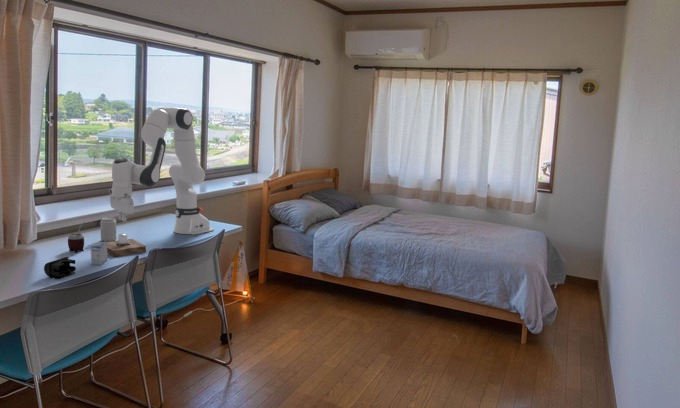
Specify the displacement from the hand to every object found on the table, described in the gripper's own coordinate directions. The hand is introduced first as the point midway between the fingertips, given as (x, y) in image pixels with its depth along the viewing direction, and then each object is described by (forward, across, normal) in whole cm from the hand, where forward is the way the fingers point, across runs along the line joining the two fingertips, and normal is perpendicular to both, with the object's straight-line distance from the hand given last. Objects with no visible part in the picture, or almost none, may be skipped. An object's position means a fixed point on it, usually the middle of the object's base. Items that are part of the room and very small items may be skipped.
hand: (122, 220), depth 257 cm
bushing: (+15, 0, 0) cm, 15 cm away
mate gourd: (+15, +10, +18) cm, 26 cm away
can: (+15, +21, -1) cm, 26 cm away
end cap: (+15, -22, +35) cm, 44 cm away
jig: (+15, 0, 0) cm, 15 cm away
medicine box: (+15, -13, +16) cm, 26 cm away
